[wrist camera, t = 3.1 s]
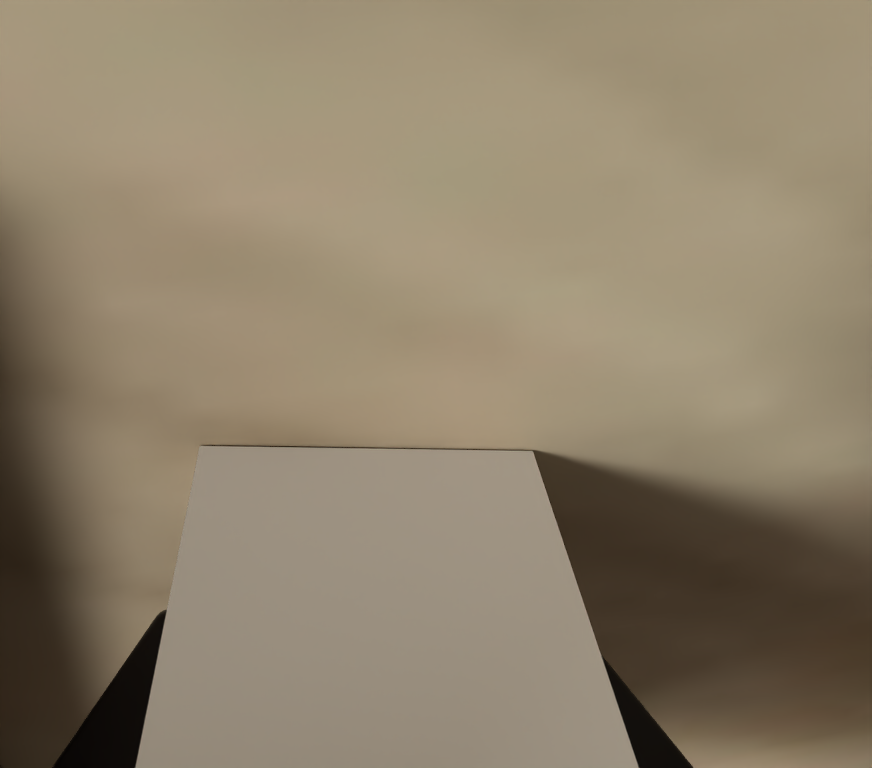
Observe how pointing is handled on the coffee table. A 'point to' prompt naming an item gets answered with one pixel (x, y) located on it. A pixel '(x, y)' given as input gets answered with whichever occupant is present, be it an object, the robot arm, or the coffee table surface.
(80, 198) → the coffee table surface
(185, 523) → the off-white square prism
